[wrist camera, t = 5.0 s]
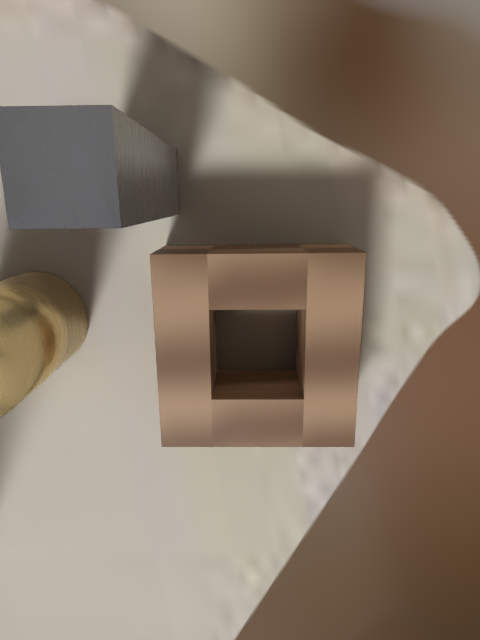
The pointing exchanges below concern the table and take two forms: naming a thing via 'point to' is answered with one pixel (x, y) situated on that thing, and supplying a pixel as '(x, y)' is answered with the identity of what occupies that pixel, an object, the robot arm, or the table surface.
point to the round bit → (36, 332)
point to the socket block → (258, 384)
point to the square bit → (83, 168)
